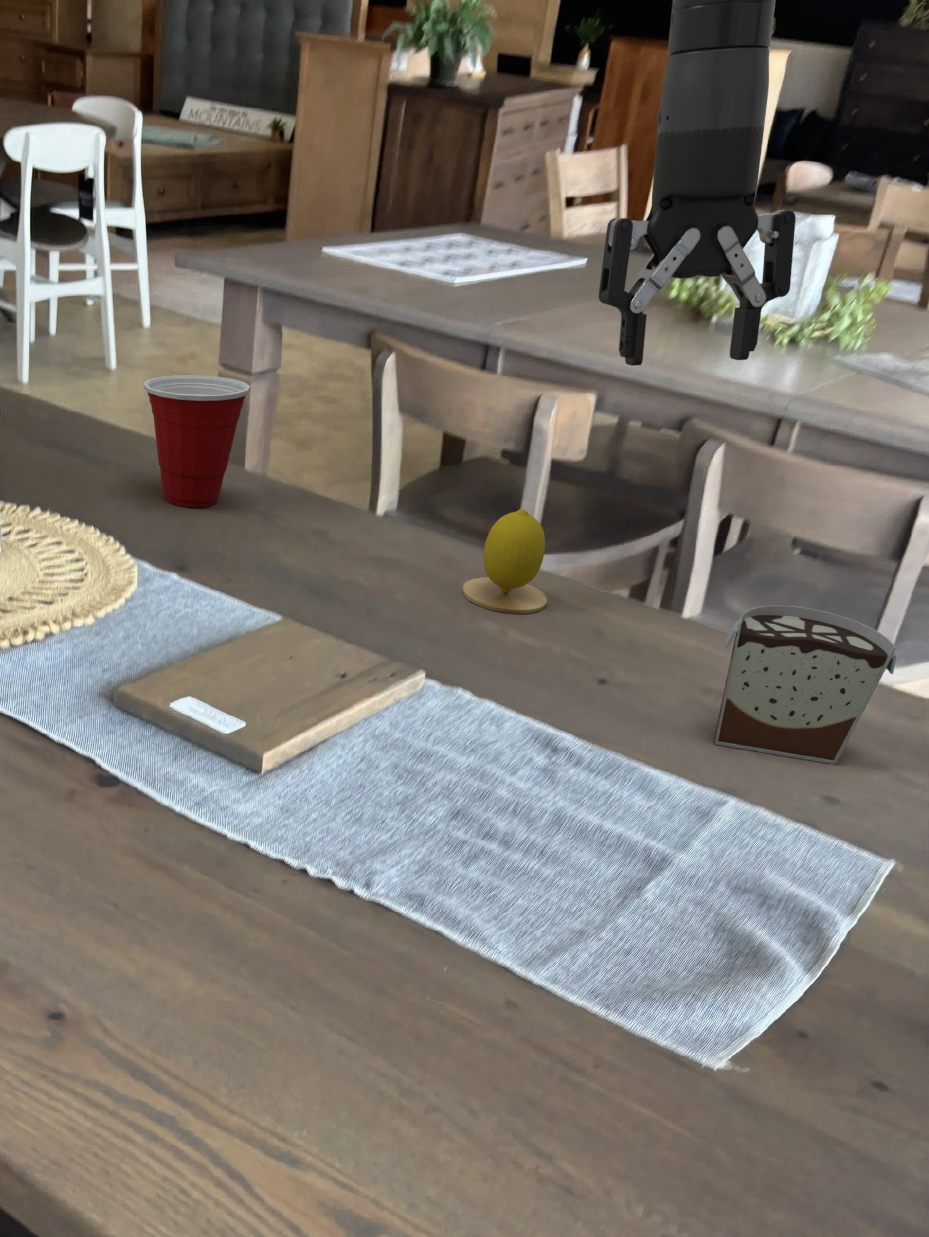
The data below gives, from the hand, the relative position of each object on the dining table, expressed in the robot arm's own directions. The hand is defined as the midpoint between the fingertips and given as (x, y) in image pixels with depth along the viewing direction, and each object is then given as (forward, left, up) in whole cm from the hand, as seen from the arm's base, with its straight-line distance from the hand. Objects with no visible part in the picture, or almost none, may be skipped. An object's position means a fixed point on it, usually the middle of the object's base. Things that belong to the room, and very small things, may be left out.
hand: (686, 362), depth 106 cm
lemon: (+7, -11, -24) cm, 27 cm away
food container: (-7, +17, -24) cm, 31 cm away
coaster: (+7, -10, -24) cm, 27 cm away
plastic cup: (+34, -35, -24) cm, 55 cm away
